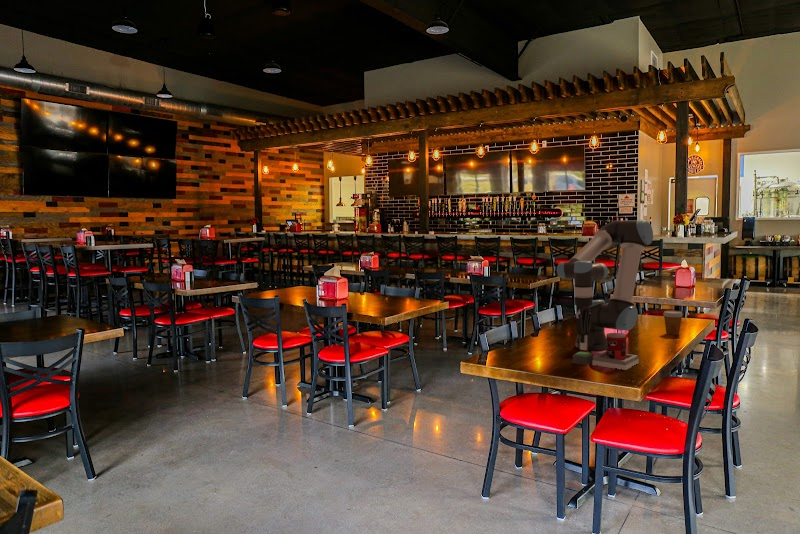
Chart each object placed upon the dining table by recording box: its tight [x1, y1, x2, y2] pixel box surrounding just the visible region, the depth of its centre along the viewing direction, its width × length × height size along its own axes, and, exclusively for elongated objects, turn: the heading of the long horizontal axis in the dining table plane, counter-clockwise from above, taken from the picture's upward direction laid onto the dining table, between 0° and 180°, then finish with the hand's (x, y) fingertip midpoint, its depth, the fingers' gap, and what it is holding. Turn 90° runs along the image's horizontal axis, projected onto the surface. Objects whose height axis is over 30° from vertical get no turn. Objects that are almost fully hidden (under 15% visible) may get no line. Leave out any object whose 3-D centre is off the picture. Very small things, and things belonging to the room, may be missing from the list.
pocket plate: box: [591, 350, 640, 371], centre depth 249 cm, size 14×14×4 cm
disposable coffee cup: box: [662, 310, 684, 336], centre depth 309 cm, size 10×10×12 cm
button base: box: [571, 353, 594, 366], centre depth 253 cm, size 7×7×4 cm
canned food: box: [605, 332, 627, 360], centre depth 248 cm, size 8×8×11 cm
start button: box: [574, 351, 592, 357], centre depth 253 cm, size 5×5×3 cm
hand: (583, 349), depth 253 cm, fingers closed
